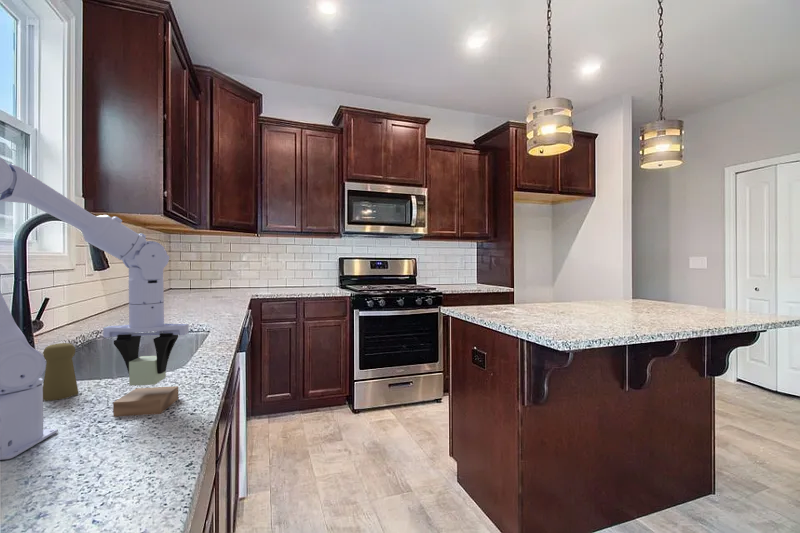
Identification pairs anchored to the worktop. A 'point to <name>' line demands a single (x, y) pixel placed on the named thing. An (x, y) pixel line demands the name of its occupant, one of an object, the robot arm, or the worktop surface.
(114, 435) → the worktop surface
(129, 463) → the worktop surface
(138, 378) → the sage cube
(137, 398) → the walnut block
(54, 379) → the cork
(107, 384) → the worktop surface
